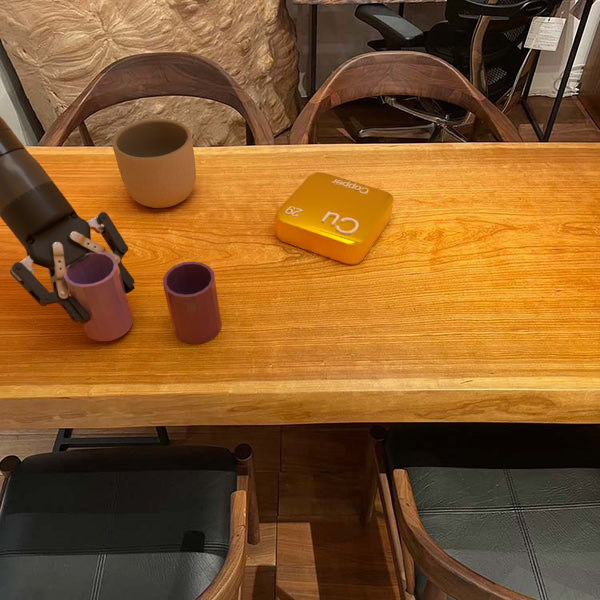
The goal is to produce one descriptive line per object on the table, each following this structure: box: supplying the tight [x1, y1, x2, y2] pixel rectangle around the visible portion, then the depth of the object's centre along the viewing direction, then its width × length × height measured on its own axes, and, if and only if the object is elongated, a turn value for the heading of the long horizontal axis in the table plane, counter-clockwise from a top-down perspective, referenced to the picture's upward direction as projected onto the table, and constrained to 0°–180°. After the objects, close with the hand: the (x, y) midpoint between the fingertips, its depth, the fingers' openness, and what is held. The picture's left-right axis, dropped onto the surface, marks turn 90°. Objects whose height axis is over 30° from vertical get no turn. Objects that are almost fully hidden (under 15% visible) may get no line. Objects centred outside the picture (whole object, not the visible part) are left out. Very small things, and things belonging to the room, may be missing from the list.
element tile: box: [274, 171, 394, 265], centre depth 93 cm, size 15×15×5 cm
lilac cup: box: [63, 252, 134, 342], centre depth 75 cm, size 6×6×10 cm
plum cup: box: [162, 261, 222, 345], centre depth 77 cm, size 6×6×9 cm
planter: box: [111, 117, 197, 209], centre depth 97 cm, size 12×12×11 cm
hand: (109, 305), depth 75 cm, fingers closed on lilac cup, 6 cm apart
